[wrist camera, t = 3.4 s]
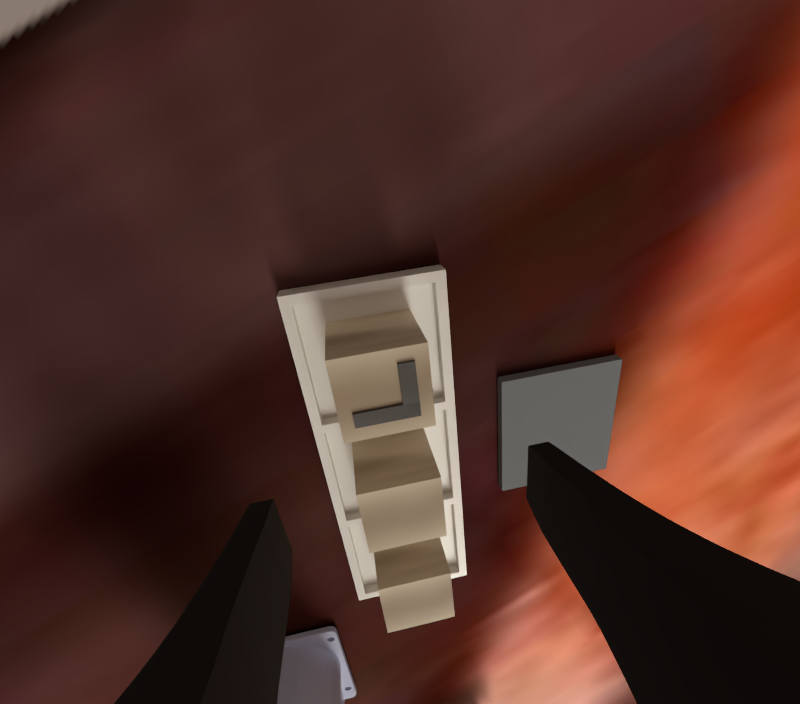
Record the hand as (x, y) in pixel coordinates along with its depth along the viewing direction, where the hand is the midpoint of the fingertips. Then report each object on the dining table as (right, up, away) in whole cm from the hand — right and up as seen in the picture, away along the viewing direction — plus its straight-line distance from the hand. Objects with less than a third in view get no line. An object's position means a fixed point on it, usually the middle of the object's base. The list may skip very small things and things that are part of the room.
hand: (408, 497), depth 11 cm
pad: (+9, 0, +13) cm, 16 cm away
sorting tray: (-1, -2, +12) cm, 12 cm away
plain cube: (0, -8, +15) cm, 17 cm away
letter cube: (-2, +4, +8) cm, 10 cm away
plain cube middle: (-1, -2, +12) cm, 12 cm away
